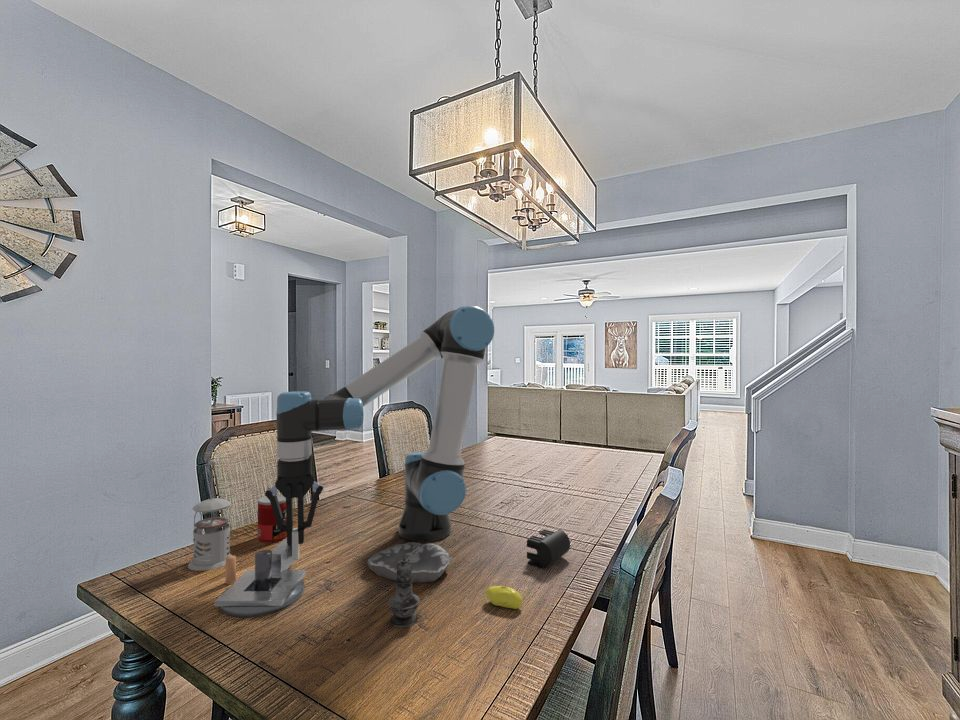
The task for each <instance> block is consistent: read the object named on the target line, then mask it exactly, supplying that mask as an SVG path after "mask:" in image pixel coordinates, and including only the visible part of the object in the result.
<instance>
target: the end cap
mask: <svg viewBox="0 0 960 720" xmlns="http://www.w3.org/2000/svg"><path fill="white" fill-rule="evenodd" d="M538 534H539V535H541V536H544V537H540V536H537V535H536V536H535V535H532V536H531V537H529V538H527V539H526V547H527V548H529V549H533V550H535V551H536V553H533V552H530V551H526V559H528V561H527V565H528V566H531V567H534V568H538V569H540V570H541V569H542V570H544V569H546V568H548V567H549V566H550V565H552V564H553V563H555V562H556V561H557V560H559V559H560V558H562V557H563V556H565V554H566V553H568V552H569V550H570V548H571V540H570V538H569V536H568V534H567V533H566V532H565V531H563V530H561V529H558V530H557V531H552V530H548V529H542V530H540V531H539V533H538Z"/></svg>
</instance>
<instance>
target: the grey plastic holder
mask: <svg viewBox="0 0 960 720" xmlns="http://www.w3.org/2000/svg"><path fill="white" fill-rule="evenodd" d="M271 551H272V583H278V584H277V585H276V586H275V587H274V588H273V589H272V591H249V590H250V589H251V588H252V587H253V585H254V584H255V569H249V570H248V569H247V570H246V571H245V572H244V573H243V574H241V576H239V578H236V581H235V582H234V583H233V584H230V586H228V587H229V588H228V587H227V588H228V589H227V588H226V589H227V590H226V589H225V590H226V591H225V590H224V591H225V592H224V591H223V592H224V593H223V592H222V593H223V594H222V593H221V594H222V595H221V594H220V595H219V596H218V597H217V598H216V599H215V600H214V607H219V606H282V605H283V603H284V602H285V601H286V600H287V598H288V597H289V596H290V594H291V593H292V592H293V590H294V589H295V588H296V586H297V585H298V584H299V582H300V581H301V580H302V579H303V580H304V577H305V576H306V575H307V572H306V571H307V570H306V569H289V568H290V567H291V566H292V564H294V562H295V561H296V560H292V545H287V538H285V539H283V540H281V541H279V543H278V544H277V545H276V546H274V548H273V549H272V550H271Z"/></svg>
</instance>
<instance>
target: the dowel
mask: <svg viewBox="0 0 960 720" xmlns="http://www.w3.org/2000/svg"><path fill="white" fill-rule="evenodd" d="M236 580H237V556H236V555H233V556H229V557H227V558H226V565H225V584H226V585H232V584H233V583H234V582H235V581H236Z"/></svg>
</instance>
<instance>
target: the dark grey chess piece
mask: <svg viewBox="0 0 960 720" xmlns="http://www.w3.org/2000/svg"><path fill="white" fill-rule="evenodd" d="M413 582H414V579H413V578H412V564H411V563H410V562H409V561H406V558H405V557H404V558H403V561H401V562H399V563H398V565H397V579H396V580H395V581H394V584H395V585H396V587H395V588H396V589H395V594H394V595H393V596H391V597H390V598H389V599H388V605H389V607H390V609H389V610H390V611H391V612H392V615H391V617H390V619H389V622H390V624H391V625H392V626H393V627H396V628H408V627H411V626H413V625H415V624H416V623H417V622H418V619H419V617H418V614H417V613H415V612H417V609H418V606H419V603H420V602H421V601H420V597H419V596H418V595H417V594H415V593H414V592H413ZM414 583H415V582H414Z"/></svg>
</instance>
